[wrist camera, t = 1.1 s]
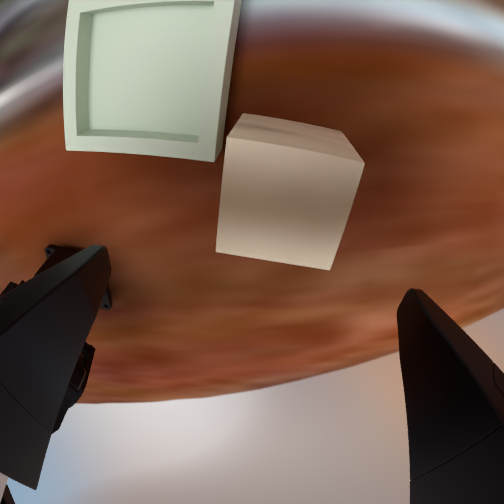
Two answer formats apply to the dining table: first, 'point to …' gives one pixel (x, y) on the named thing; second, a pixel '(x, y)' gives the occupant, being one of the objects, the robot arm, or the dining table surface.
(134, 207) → the dining table surface
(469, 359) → the robot arm
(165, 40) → the tray
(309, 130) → the maple cube
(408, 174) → the dining table surface
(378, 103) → the dining table surface
